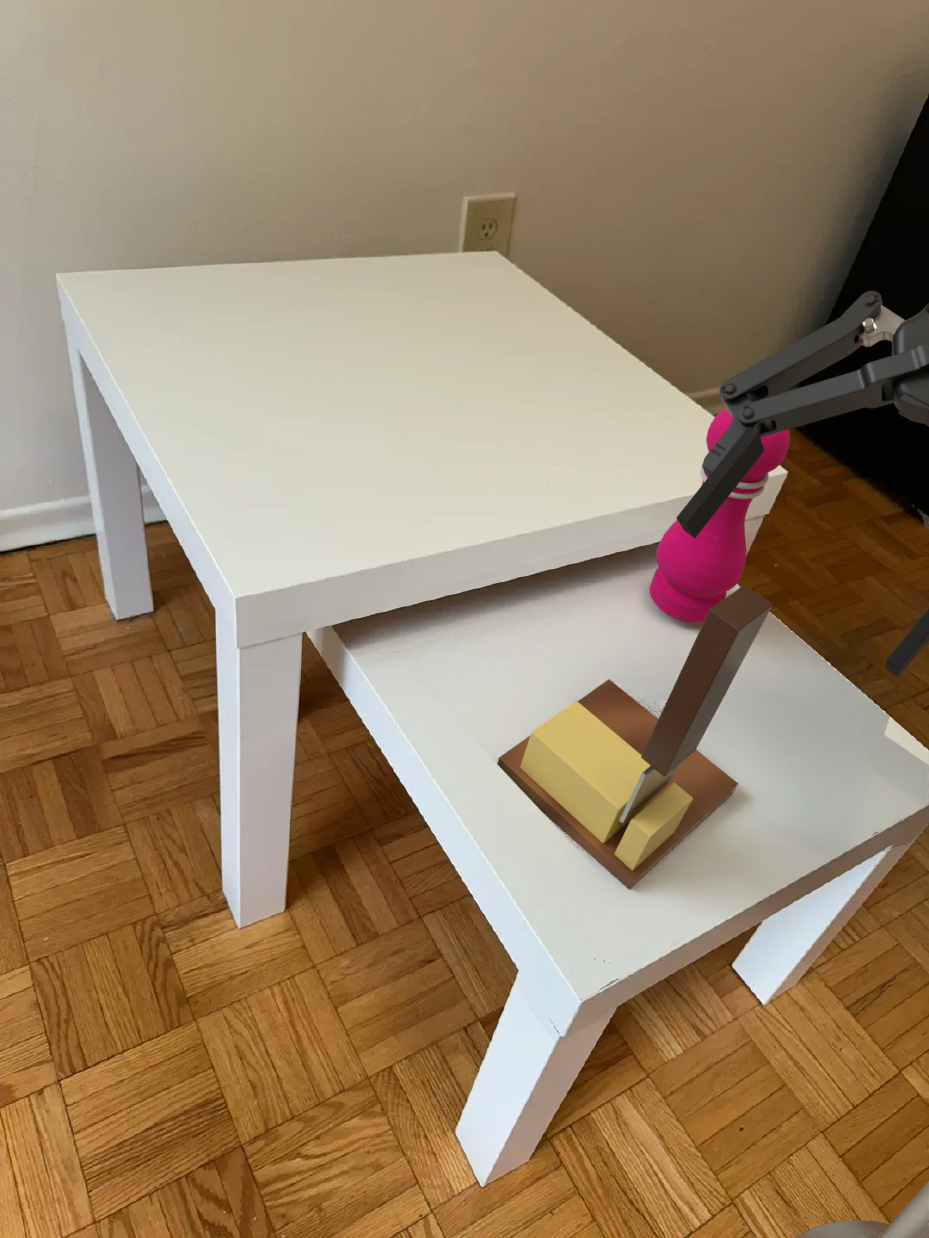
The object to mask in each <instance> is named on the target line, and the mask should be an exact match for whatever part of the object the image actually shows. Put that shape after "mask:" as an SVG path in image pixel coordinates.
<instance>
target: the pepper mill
mask: <svg viewBox="0 0 929 1238" xmlns="http://www.w3.org/2000/svg"><path fill="white" fill-rule="evenodd" d="M732 420H733V418H732V416H731V415H730V414H729V413H728V412H727V411H726V408H725V407H724V408H723V409H721V410H720V411H719V412H718V413H717V414H716V416H715V417H714V418H713V420H711V422H710V424H709V427H708V429H707V433H706V437H705V441H706V442H705V443H706V448H707V451H708V452H709V451H710V450H711V449H712V448H713V446H714V445H715V444H716V443H717V441H718V440H719V439H720V437H721V436H722V435H723V434H724V432H725V431H726V430H727V429H728V427H729V426H730V425H731V423H732ZM790 437H791V436H790V429H788V430H784V431H781V432H777V433H774V434H770V435H767V436H764V437H761V440H762V444H763V447H764V450H765V451H764V452H763V454H762V455H761V456H760V457H759V459H758V460H757V461H756V462H755V464H754V465H753V466H752V467H751V469H750V470H749V471H748V472H747V474H746V475H745V476H744V477H743V479H742V480H741V481H740V482H739V484H738V485H737V486H736V487H735V489H734V490H733V491H732V492H731V494H730V495H729V496H728V498H727V499H726V500H725V501H724V503H723V504H722V505H721V506H720V508H719V509H718V510H717V511H716V513H715V514H714V515H713V516H712V518H711V519H710V520H709V521H708V523H707V524H706V525H705V526H704V528H703V529H702V530H701V531H700V533H699V534H698V535H697V536H696V538H693V537H692V536H690V535H689V534H688V533H686V532H685V531H684V530H683V528H682V526H681V525H680V523H679V522H678V520H677V519H675V521H674V522H673V523H672V524H671V525H670V527H668V529H667V530H666V531H665V532H664V534H663V535H662V537H661V539H660V542H659V543H658V546H657V548H656V553H655V555H656V556H655V558H656V563H657V566H658V567H657V568H656V570H655V571H654V573H653V577H652V579H651V582H650V585H649V595H650V598H651V600H652V602H653V603H654V604H655V605H656V606H657V608H658V609H659V610H660V611H662V612H663V613H665V614H667V615H668V616H670V617H673V618H674V619H678V620H680V621H683V622H687V623H688V622H689V623H704V621H705V618H706V616H707V614H708V612H709V610H710V609H711V608H713V607H714V606H715V605H717V604H718V603H720V602H721V601H722V600H724V599H725V598H727V592H729V591H730V590H732V589H733V588H734V587H735V586H737V585H738V583H739V582H740V581H741V578H742V577H743V574H744V570H745V568H746V562H747V561H746V560H747V541H746V527H745V526H746V525H745V524H746V523H745V522H746V516H747V513H748V510H749V507H750V505H751V503H752V502H753V500H754V498H757V497H759V496H760V495H762V493H764V491H765V485H766V484H767V483H768V481H769V477H770V476H769V473H770V472H772V471H775V470H776V469H777V468H778V467H779V466H780V465H781V464H782V463H783V462H784V460H785V459H786V457H787V455H788V451H789V447H790V441H791V438H790ZM699 474H700V477H701V480H702V482H701V486H702V485H703V483H704V482H705V481H706V480H707V478H708V477H709V476H707V475H706V474H705V472H704V469H703V467H702V466H701V467H700V472H699Z"/></svg>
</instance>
